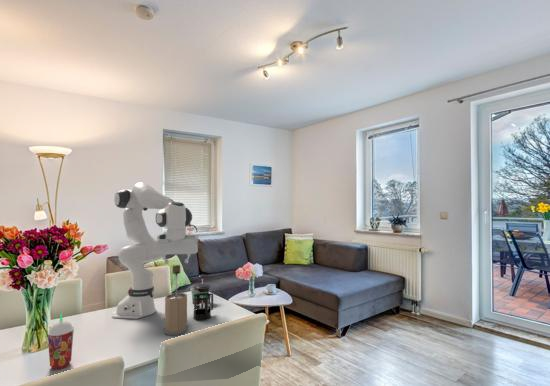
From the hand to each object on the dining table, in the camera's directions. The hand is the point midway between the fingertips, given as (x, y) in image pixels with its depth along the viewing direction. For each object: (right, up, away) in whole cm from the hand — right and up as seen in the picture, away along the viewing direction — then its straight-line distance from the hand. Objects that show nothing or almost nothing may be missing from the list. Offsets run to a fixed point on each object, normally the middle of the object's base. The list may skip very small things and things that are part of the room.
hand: (176, 263), depth 150 cm
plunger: (0, -17, 0) cm, 17 cm away
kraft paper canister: (0, -33, +1) cm, 33 cm away
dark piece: (+2, -34, +38) cm, 51 cm away
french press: (+9, -34, +17) cm, 38 cm away
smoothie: (-35, -33, -32) cm, 57 cm away
